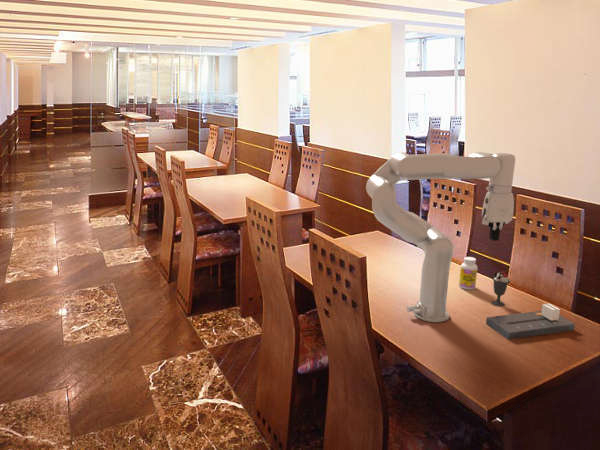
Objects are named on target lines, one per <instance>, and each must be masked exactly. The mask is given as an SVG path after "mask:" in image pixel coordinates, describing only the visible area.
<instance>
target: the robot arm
mask: <svg viewBox="0 0 600 450" xmlns="http://www.w3.org/2000/svg"><path fill="white" fill-rule="evenodd" d="M515 165H516V156H515V155H514V154H512V153H503V152H499V153H490V152H480V151H478V152H477V151H476V152H474V153H471V154H470V155H468V156H461V155H454V154H449V153H441V152H440V153H439V152H438V153H422V154H419V153H418V154H417V153H416V154H408V153H405V152H397V153H396V154H394V155H392V156H391V157H390V158H389V159H387V161H386V162H384V164H382V165H381V166H380V167H379V168H378V169H377V170H376V171H375V172H374V173H373V174H372V175H371V176H370V177H369V178H368V179H367V181H366V185H365V190H366V193H367V195H368V196H369V197H370V198H371V209H372V213H373V216H374V217H375V219H376V220H377V221H378V223H379V222H380V223H381V224H382V225H383V226H384V227H386V228H388V229H389V230H390V231H392V232H393V233H394V234H396V235H398V236H399V237H400V238H402V239H403V240H404V241H406V242H407V243H411V244H413V245H415V246H417V247H418V248H420V249H421V250H422V251H423V253H424V259H423V263H422V266H421V276H420V277H421V279H420V290H419V299H418V300H419V301H417V302H416V304H414V305H413V306H412V305H409V306H406V311H407V313H410V312H412V313H413V314H414V316H415V317H416V318H418V319H420V320H422V321H425V322H429V323H442V322H447V321H448V320H449V319H450V313H449V311H448V310H447V309H446V308H447V298H448V297H447V296H448V289H449V287H448V286H449V278H450V277H449V276H450V268H451V261H452V259H453V256H454V244H453V242H452V240H451V238H450V237H449V236H448V235H447V234H445V233H444V232H442V231H441V230H439V229H438V228H437V227H436V226H434V225H432V224H431V223H429V222H428V221H426V220H425V219H424V218H422V217H420V216H419V215H417V214H416V213H414V212H412V211H408V210H406V209H405V208H403V207H401V206H400V205H398V203H397V200H396V195H397V192H396V187H395V185H396V184H398V183H399V182H400V180H404V181H414V180H415V181H416V180H435V179H439V180H440V179H444V180H481V179H482V180H483V179H489V180H488V186H486V187H485V190H486V191H487V192H486V194H485V197H484V200H483V204H482V210H481V219H482V221H481V224H483V225H485V226H487V227H488V228H489V234H488V236H489V240H491V241H494V242H495V241H499V239H500V235H501V234H500V233H501V230H502V229H503V227H504V226H505V225H507V224H510V222H511V221H512V220H513V219H514V209H515V206H514V205H515V197H514V193H512V189H513V181H514V174H515Z"/></svg>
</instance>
